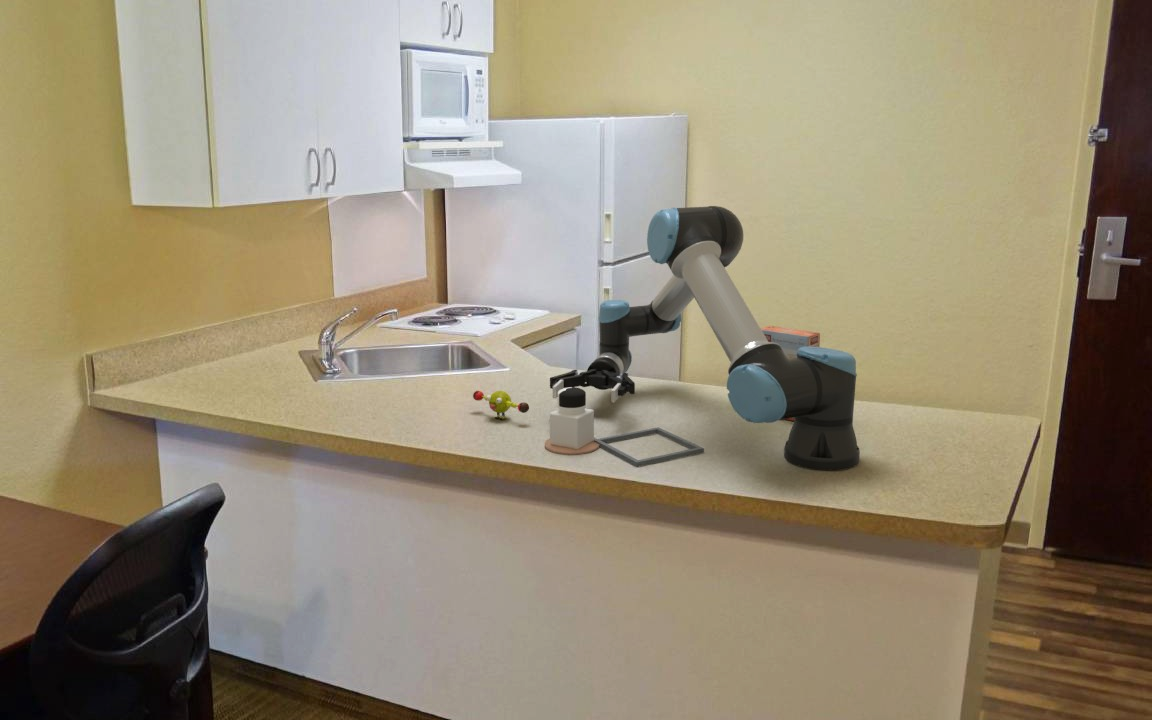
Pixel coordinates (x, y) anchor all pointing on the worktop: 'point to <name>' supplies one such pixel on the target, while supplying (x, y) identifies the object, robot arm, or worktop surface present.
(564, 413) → the medicine bottle
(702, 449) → the gray square frame
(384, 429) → the worktop surface
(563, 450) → the coaster
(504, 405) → the toy figure
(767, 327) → the cracker box
